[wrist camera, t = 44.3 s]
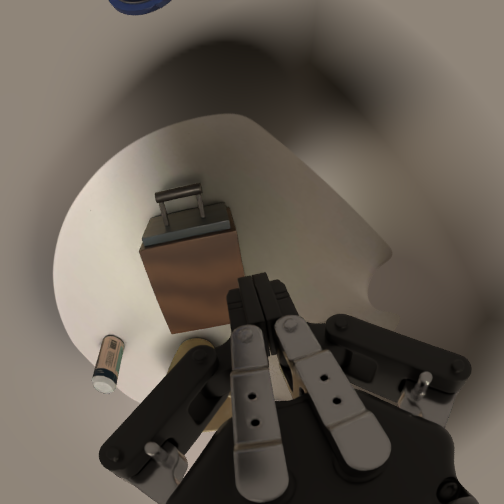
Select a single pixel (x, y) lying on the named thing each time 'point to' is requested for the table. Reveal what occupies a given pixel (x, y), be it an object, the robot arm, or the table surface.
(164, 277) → the cabinet
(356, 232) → the table surface
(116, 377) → the beer can
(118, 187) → the table surface
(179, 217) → the drawer
